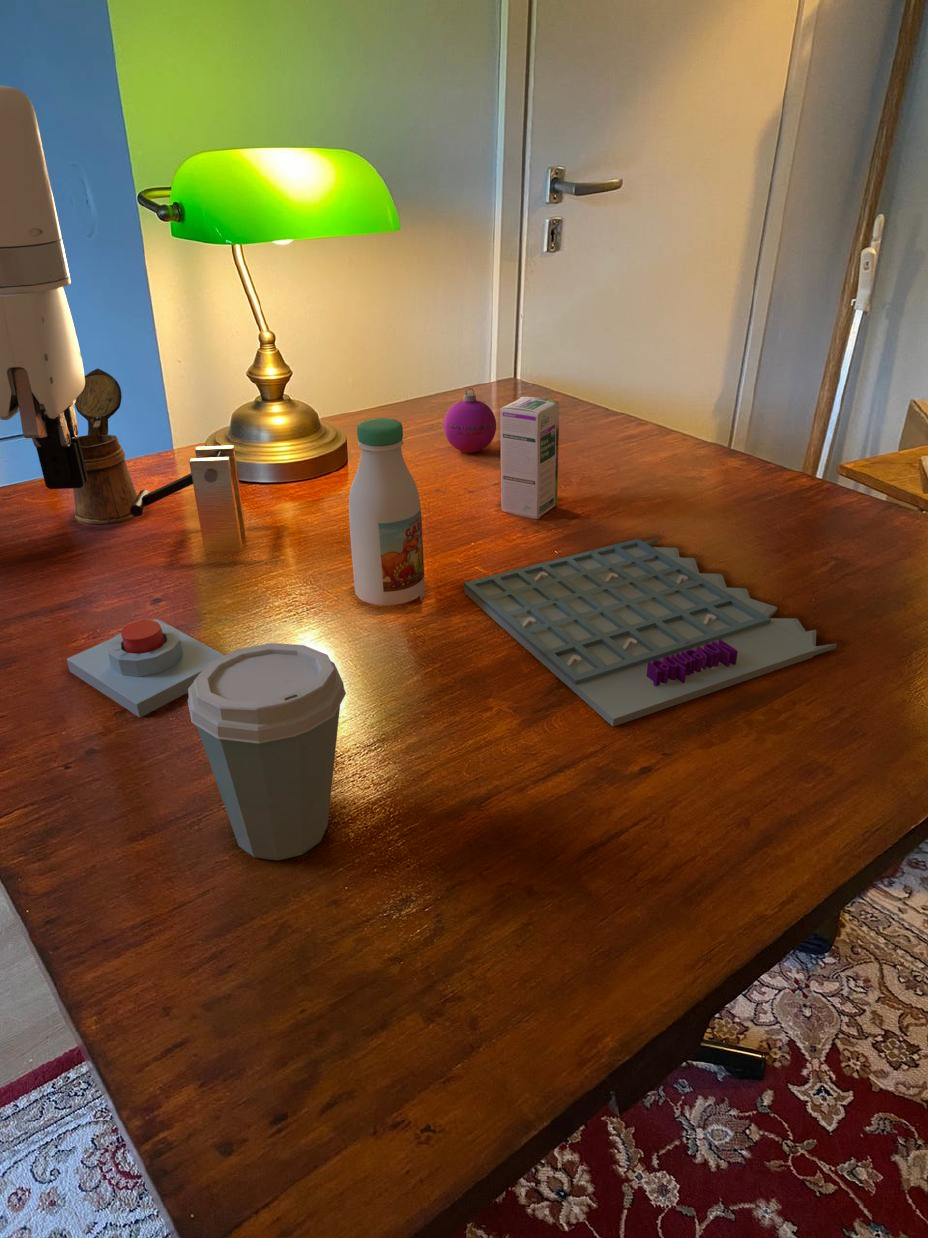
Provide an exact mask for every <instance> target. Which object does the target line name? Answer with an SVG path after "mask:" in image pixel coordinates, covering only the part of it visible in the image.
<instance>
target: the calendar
mask: <svg viewBox="0 0 928 1238" xmlns="http://www.w3.org/2000/svg"><path fill="white" fill-rule="evenodd" d="M658 540H659V538H657V537H656V538H653V539H649V540H645V541H643V540H642V539H640V538H635V539H632V540H627V541H623V542H619V543H614V544H611V545H608V546H603V547H599V548H595V549H591V550H587V551H584V552H580V553H576V554H572V555H571V554H570V555H568V556H564V557H559V558H556V559H551V560H547V561H543V562H540V563H536V564H532V565H527V566H524V567H519V568H516V569H512V570H508V571H505V572H499V573H496V574H491V575H488V576H484V577H480V578H476V579H472V580H468V581H464V582H463V593H464V594H465V595H466V596H467V597H468V599H470V601H472V602H473V603H474V604H475V605H477V606H478V608H480V609H481V610H482V611H483V612H484V613H486V614H487V615H488V617H490V618H491V619H492V620H493V621H494V622H496V623H497V624H498V625H499V626H500V627H501V628H502V629H503V630H504V631H506V633H508V634H509V635H510V636H511V637H512V638H513V639H515V640H516V641H517V642H518V643H519V644H520V645H521V646H522V647H523V648H524V649H525V650H527V651H528V653H530V654H531V655H532V656H533V657H535V658H536V659H537V661H539V662H540V663H541V664H542V665H543V666H545V667H546V668H547V669H548V670H549V671H550V672H551V673H552V674H554V675H555V676H556V678H558V679H559V680H560V681H561V682H562V683H563V684H565V685H566V686H567V687H568V688H569V689H570V690H571V691H572V692H573V693H575V694H576V696H578V697H579V698H580V699H581V700H582V701H583V702H584V703H586V704H587V705H588V706H589V707H590V708H591V709H592V710H593V711H594V712H596V713H597V714H598V715H599V716H600V717H601V718H602V719H603V720H605V721H606V722H607V723H608V724H609V725H610V726H611V727H616V726H619V725H622V724H625V723H628V722H631V721H633V720H637V719H640V718H642V717H645V716H648V715H651V714H654V713H656V712H659V711H662V710H665V709H669V708H671V707H674V706H677V705H680V704H683V703H686V702H688V701H692V700H694V699H697V698H701V697H702V696H706V695H709V694H711V693H714V692H717V691H720V690H723V689H726V688H728V687H731V686H735V685H738V684H740V683H743V682H746V681H748V680H749V681H750V680H751V679H755V678H758V677H761V676H763V675H766V674H769V673H772V672H775V671H778V670H781V669H783V668H787V667H789V666H792V665H795V664H798V663H801V662H804V661H806V660H809V659H813V658H814V657H815V656H817V655H821V654H824V653H826V652H829V651H832V650H835V649H837V645H838V643H829V644H822V645H817V629H813V630H806V629H805V627H804V626H803V624H802V623H801V622H800V620H799V619H798V618H795V617H794V618H791V617H790V618H789V617H788V618H786V617H785V618H784V617H780V618H779V617H773V616H774V615H775V614H776V612H777V611H778V607H777V606H776V605H775V606H774V605H772V604H768V603H765V602H762V601H759V600H757V599H754V598H752V597H751V596H750V593H749V591H748V590H747V588H745V587H728V586H727V584H726V581H725V579H724V576H723V574H721V573H706V572H705V573H704V572H700V570H699V567H698V565H697V562H696V559H695V558H693V557H680V553H679V549H678V548H677V547H663V546H661V547H660V546H654V545H656V544H657V543H658Z"/></svg>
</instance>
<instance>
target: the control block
mask: <svg viewBox="0 0 928 1238" xmlns="http://www.w3.org/2000/svg"><path fill="white" fill-rule="evenodd" d="M151 620H152V621H156V622H158V623H159V624H160V625H161V628H162V633H163V638H164V644H163V646H162V647H160V648H158V649H156V650H154V651H152V652H147V653H142V654H135V653H128V652H127V651H126V650H125V648H124V643H123V639H122V635H121V632H120V633H117V634H116V635H115V636H114V637H112V638H109V639H108V640H105V641H103V642H101V643H98V644H96V645H94V646H92V647H89V648H88V649H85V650H83V651H81V652H78V653H76V654H74V655H72V656H70V657H67V658H66V662H67V666H68V670H69V672H70V673H71V674H73V675H74V676H76V677H77V678H79V679H81V680H82V681H83V682H85V683H86V684H88V685H89V686H91V687H92V688H94V689H95V690H97V691H99V692H100V693H101V694H103V695H105V697H108V698H109V699H111V700H112V701H114V702H115V703H117V704H118V705H119V706H121V707H122V708H124V709H126V710H128V711H129V712H131V713H132V714H133V715H135V716H137V718H142V717H144V716H146V715H148V714H150V713H152V712H154V711H156V710H157V709H159V708H161V707H163V706H166V705H167V704H169V703H171V702H173V701H174V700H176V699H178V698H180V697H182V696H184V695H186V694H188V688H189V687H190V686H191V685H192V683H193V682H194V680H195V679H196V678H197V676H198V675H199V674H200V673H201V672H202V671H203V670H204V668H205V667H206V666H207V665H208V664H209V663H210V662H211V661H214V660H216V659H218V658H220V657H222V656H224V655H225V654H223V653H222V652H220V651H218V650H217V649H214V648H213V647H211V646H209V645H207V644H205V643H203V642H201V641H200V640H197V639H196V638H194V637H192V636H190V635H188V634H186V633H184V632H183V631H181V630H179V629H177V628H175V627H173V626H171V625H170V624H169V623H166V622H164V621H162V620H161V619H158V618H154V619H151Z"/></svg>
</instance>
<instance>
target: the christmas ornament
mask: <svg viewBox="0 0 928 1238" xmlns="http://www.w3.org/2000/svg"><path fill="white" fill-rule="evenodd" d="M468 390H471V391H472V392H467V391H468ZM443 432H444V435H445V438H446V440H447V441H448V442H449V444H450V445H451V446H452V447H453V448H455V449H456V450H457V451H461V452H463V453H470V454H471V453H477V452H480V451H482V450H484V449H486V448H487V447H488V446H489V445H490V444H491V442H492V441H493V440H494V438H495V435H496V432H497V420H496V416H495V414H494V412H493V410H492V409H491V408H490V406H488V405H487V404H486V403H485V402H483V401H480V400H479V399H477V396H476V393H475V390H474V389H473V388H472V387H468V388H467V389H466V390H465V393H464V394H463V400H459V401H457V402H455V403H453V404H452V406H451V407H450V408H449V409H448V410H447V412H446V414H445V416H444V420H443Z"/></svg>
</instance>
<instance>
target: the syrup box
mask: <svg viewBox="0 0 928 1238" xmlns="http://www.w3.org/2000/svg"><path fill="white" fill-rule="evenodd" d="M499 409H500V412H499V413H500V495H501V496H500V501H501V502H500V503H501V504H500V505H501V511H502V512H504V513H508V514H510V515H514V516H518V517H523V518H529V519H533V520H539V519H540V518H541V517H542V516H544V515H545V514H546V513H548V512H549V511H550V510H552V509H553V508H554V507H556V506H557V505H558V491H559V490H558V489H559V487H558V486H559V447H560V445H559V444H560V443H559V442H560V441H559V439H560V438H559V437H560V432H559V431H560V401H556V400H554V399H548V398H544V397H538V396H537V397H536V396H523V395H522V396H520V397H519V398H518V399H516V400H515V401H512V402H511V403H509V404H506V405H503V406H501V407H500V408H499Z"/></svg>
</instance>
